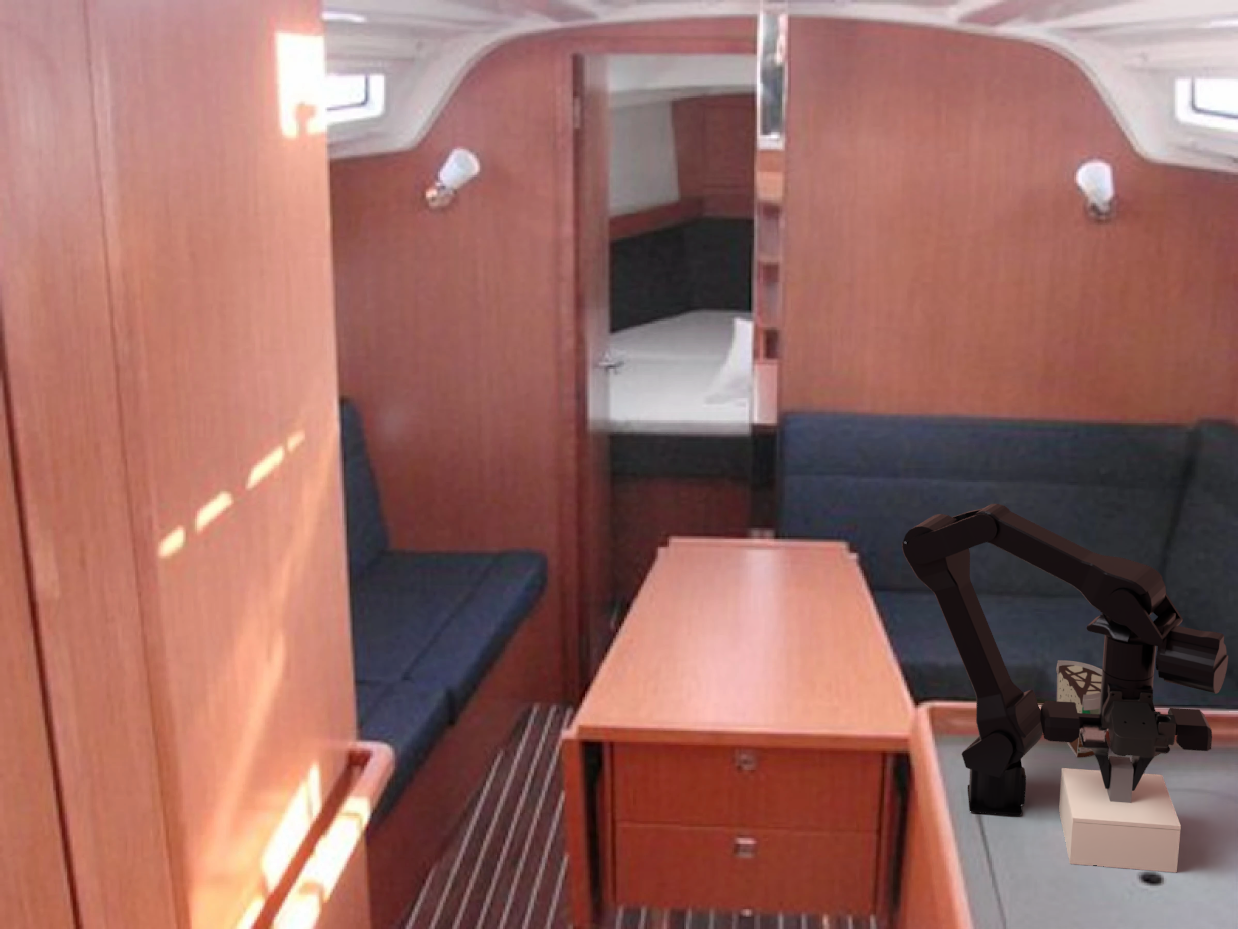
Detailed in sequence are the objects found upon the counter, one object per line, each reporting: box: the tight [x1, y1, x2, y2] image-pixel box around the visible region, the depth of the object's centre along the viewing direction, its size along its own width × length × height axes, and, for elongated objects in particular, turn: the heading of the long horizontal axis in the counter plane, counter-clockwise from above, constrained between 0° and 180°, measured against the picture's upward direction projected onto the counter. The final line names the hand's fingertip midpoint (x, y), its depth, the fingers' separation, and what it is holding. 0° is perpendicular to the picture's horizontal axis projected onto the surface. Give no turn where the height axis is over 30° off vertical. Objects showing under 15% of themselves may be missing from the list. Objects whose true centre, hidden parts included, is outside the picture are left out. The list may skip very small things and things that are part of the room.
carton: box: [1058, 771, 1181, 873], centre depth 160 cm, size 12×12×6 cm
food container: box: [1055, 659, 1102, 759], centre depth 184 cm, size 12×6×10 cm, turn 179°
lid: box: [1061, 755, 1182, 831], centre depth 158 cm, size 12×12×5 cm
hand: (1119, 788), depth 159 cm, fingers open, 3 cm apart
